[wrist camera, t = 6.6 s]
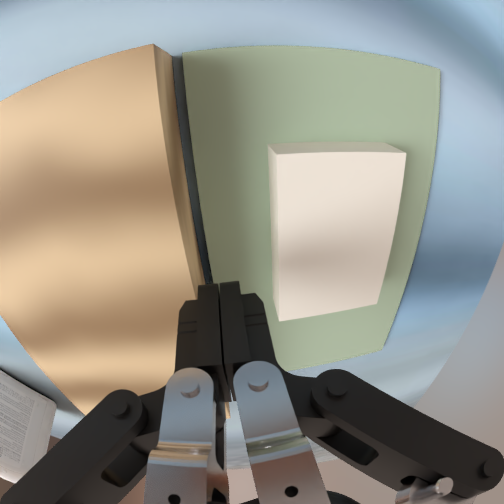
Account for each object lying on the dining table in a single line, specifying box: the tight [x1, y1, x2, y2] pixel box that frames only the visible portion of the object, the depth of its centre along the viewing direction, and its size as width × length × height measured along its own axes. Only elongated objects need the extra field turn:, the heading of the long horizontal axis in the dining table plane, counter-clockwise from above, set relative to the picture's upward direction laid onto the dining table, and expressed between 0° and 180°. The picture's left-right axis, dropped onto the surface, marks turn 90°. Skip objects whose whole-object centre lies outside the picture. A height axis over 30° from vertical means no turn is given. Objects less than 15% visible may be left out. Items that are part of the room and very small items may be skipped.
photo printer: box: [0, 370, 57, 483], centre depth 17 cm, size 10×4×12 cm, turn 49°
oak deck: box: [0, 44, 230, 419], centre depth 14 cm, size 22×12×4 cm, turn 4°
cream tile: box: [268, 142, 406, 321], centre depth 14 cm, size 9×6×2 cm, turn 4°
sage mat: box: [182, 46, 440, 371], centre depth 16 cm, size 22×13×1 cm, turn 4°
